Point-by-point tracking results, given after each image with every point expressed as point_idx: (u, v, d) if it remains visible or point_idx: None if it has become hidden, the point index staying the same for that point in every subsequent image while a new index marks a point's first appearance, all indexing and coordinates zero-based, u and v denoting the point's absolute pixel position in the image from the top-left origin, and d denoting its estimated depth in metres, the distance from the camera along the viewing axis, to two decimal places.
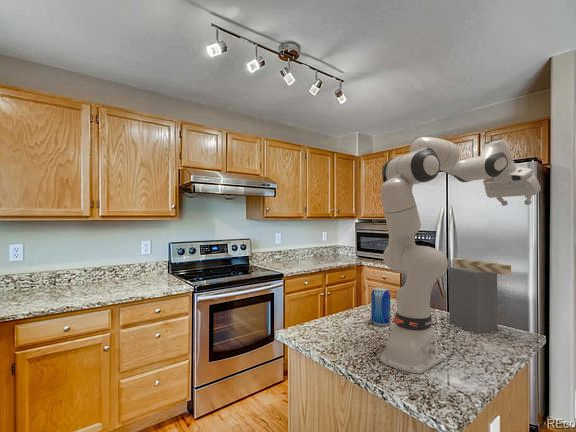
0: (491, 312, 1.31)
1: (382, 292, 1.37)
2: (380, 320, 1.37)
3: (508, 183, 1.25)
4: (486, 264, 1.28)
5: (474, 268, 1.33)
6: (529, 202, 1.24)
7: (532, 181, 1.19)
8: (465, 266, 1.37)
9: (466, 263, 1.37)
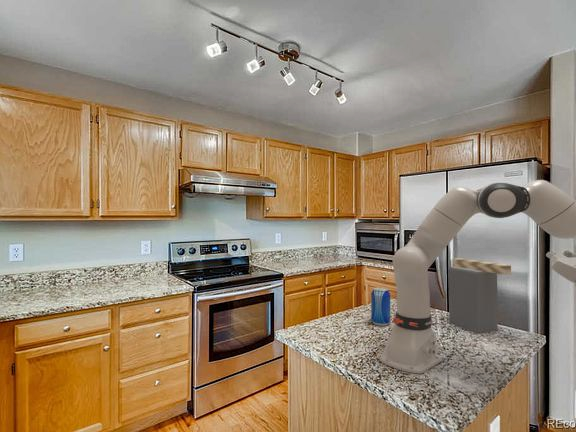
0: (491, 312, 1.31)
1: (382, 292, 1.37)
2: (380, 320, 1.37)
3: None
4: (486, 264, 1.28)
5: (474, 268, 1.33)
6: (549, 254, 1.03)
7: (572, 271, 0.94)
8: (465, 266, 1.37)
9: (466, 263, 1.37)
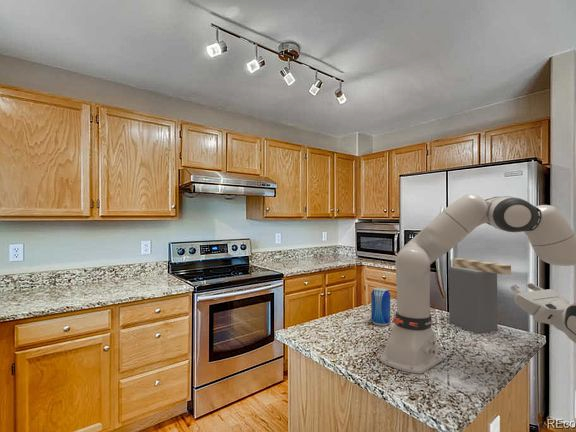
0: (491, 312, 1.31)
1: (382, 292, 1.37)
2: (380, 320, 1.37)
3: (550, 301, 1.06)
4: (486, 264, 1.28)
5: (474, 268, 1.33)
6: (513, 287, 1.15)
7: (530, 306, 1.05)
8: (465, 266, 1.37)
9: (466, 263, 1.37)
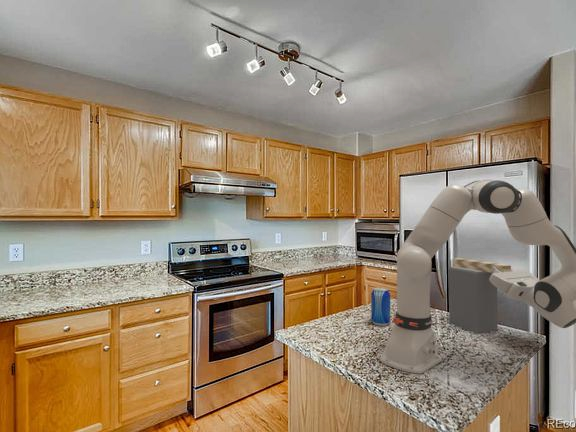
0: (491, 312, 1.31)
1: (382, 292, 1.37)
2: (380, 320, 1.37)
3: (522, 280, 1.15)
4: (486, 264, 1.28)
5: (474, 268, 1.33)
6: (493, 268, 1.24)
7: (503, 284, 1.14)
8: (465, 266, 1.37)
9: (466, 263, 1.37)
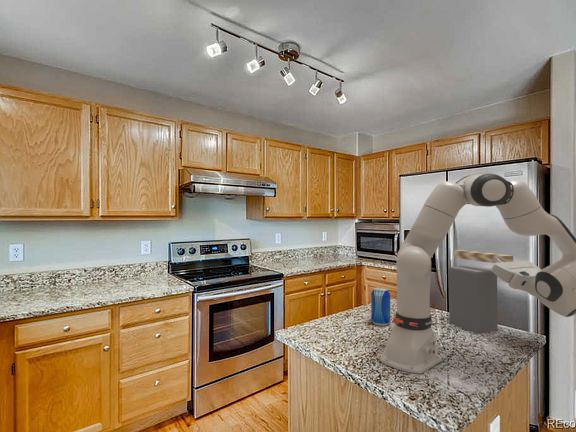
0: (491, 312, 1.31)
1: (382, 292, 1.37)
2: (380, 320, 1.37)
3: (524, 270, 1.14)
4: (488, 255, 1.27)
5: (476, 259, 1.33)
6: (495, 258, 1.23)
7: (505, 274, 1.13)
8: (467, 257, 1.37)
9: (468, 254, 1.36)
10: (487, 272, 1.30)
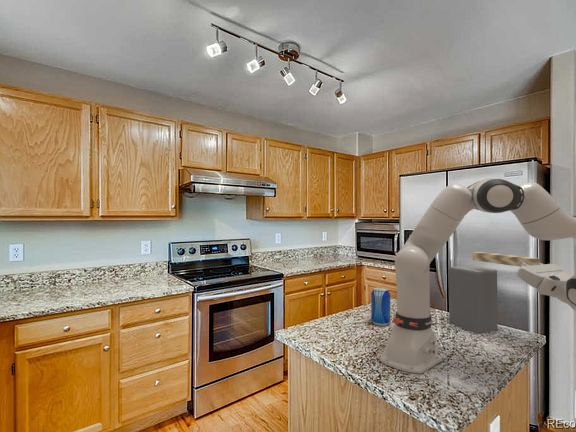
0: (491, 312, 1.31)
1: (382, 292, 1.37)
2: (380, 320, 1.37)
3: (554, 274, 1.05)
4: (511, 257, 1.19)
5: (497, 262, 1.24)
6: (519, 261, 1.14)
7: (533, 278, 1.04)
8: (487, 260, 1.28)
9: (488, 257, 1.27)
10: (487, 272, 1.30)
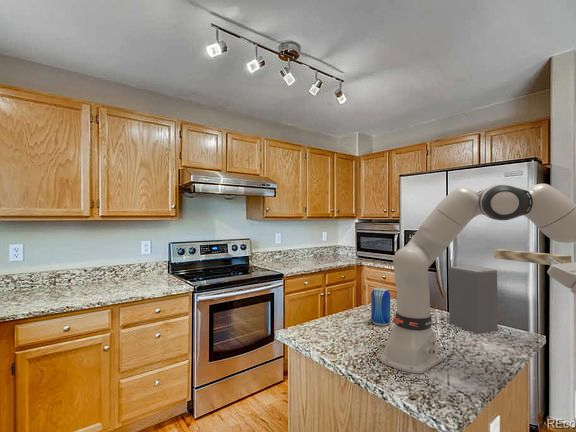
0: (491, 312, 1.31)
1: (382, 292, 1.37)
2: (380, 320, 1.37)
3: None
4: (539, 255, 1.09)
5: (523, 260, 1.15)
6: (549, 259, 1.05)
7: (567, 277, 0.95)
8: (511, 258, 1.19)
9: (512, 254, 1.18)
10: (487, 272, 1.30)
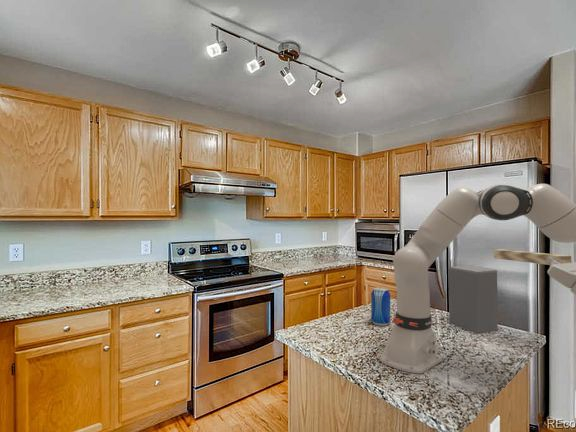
0: (491, 312, 1.31)
1: (382, 292, 1.37)
2: (380, 320, 1.37)
3: None
4: (539, 255, 1.09)
5: (523, 260, 1.15)
6: (549, 259, 1.05)
7: (567, 277, 0.95)
8: (511, 258, 1.19)
9: (512, 254, 1.18)
10: (487, 272, 1.30)
